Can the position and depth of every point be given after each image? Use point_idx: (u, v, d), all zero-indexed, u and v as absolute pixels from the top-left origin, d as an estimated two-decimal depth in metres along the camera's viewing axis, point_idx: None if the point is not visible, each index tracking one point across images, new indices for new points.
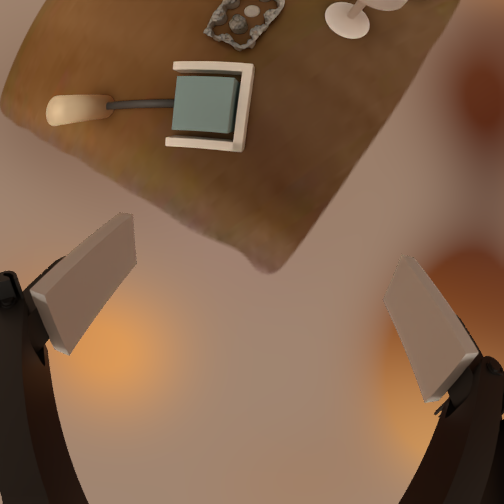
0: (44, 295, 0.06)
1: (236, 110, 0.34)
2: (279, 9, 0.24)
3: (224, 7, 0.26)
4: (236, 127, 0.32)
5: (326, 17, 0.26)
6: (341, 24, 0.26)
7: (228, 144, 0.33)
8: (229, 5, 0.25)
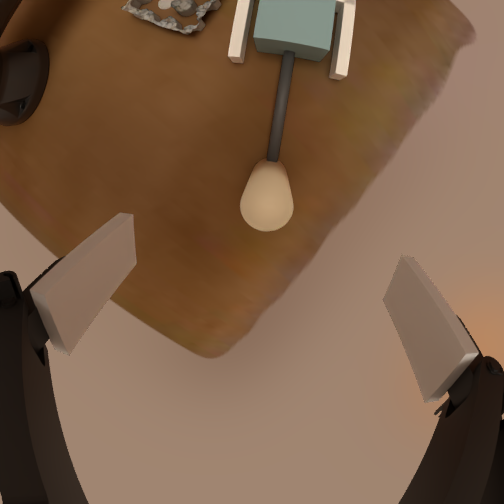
0: (44, 295, 0.06)
1: None
2: None
3: None
4: None
5: None
6: None
7: (347, 7, 0.18)
8: (156, 18, 0.21)
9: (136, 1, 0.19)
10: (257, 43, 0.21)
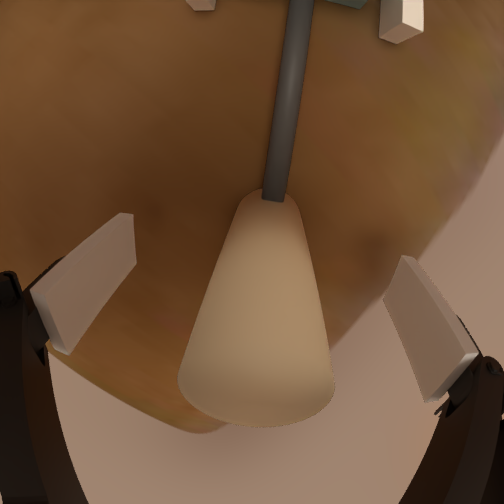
0: (44, 295, 0.06)
1: None
2: None
3: None
4: None
5: None
6: None
7: None
8: None
9: None
10: None
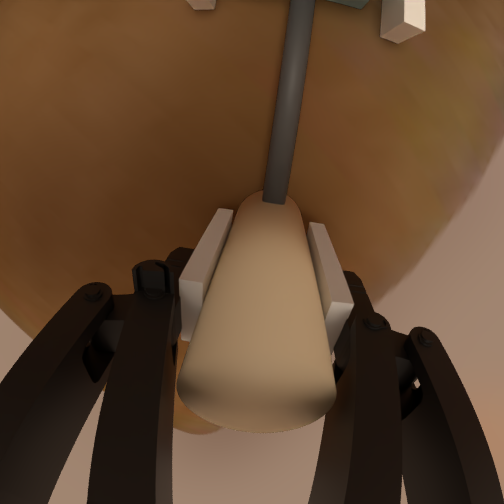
0: (201, 283, 0.08)
1: None
2: None
3: None
4: None
5: None
6: None
7: None
8: None
9: None
10: None
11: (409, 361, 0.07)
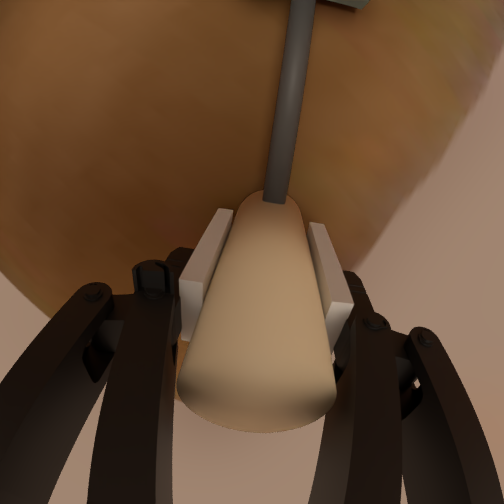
0: (201, 283, 0.08)
1: None
2: None
3: None
4: None
5: None
6: None
7: None
8: None
9: None
10: None
11: (409, 361, 0.07)
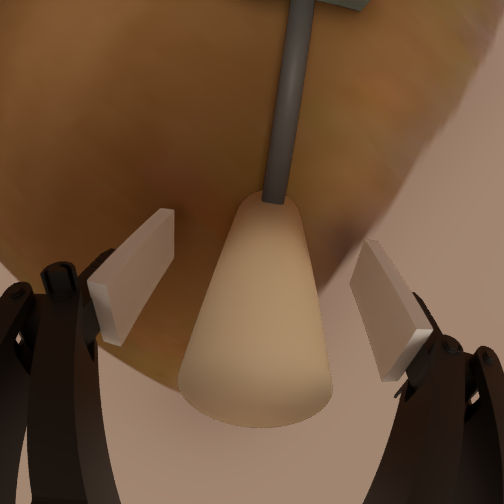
0: (105, 285, 0.07)
1: None
2: None
3: None
4: None
5: None
6: None
7: None
8: None
9: None
10: None
11: (476, 378, 0.06)
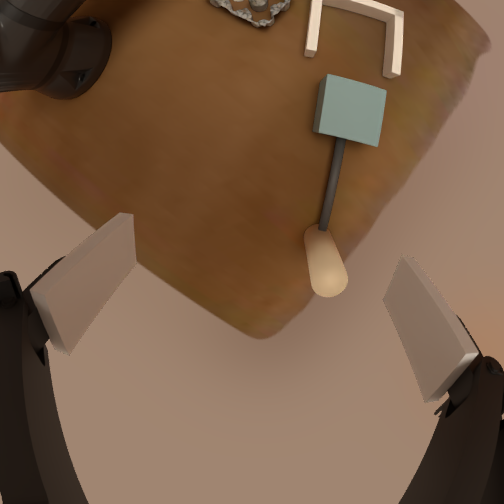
0: (44, 295, 0.06)
1: None
2: None
3: (232, 12, 0.25)
4: (381, 8, 0.20)
5: None
6: None
7: (397, 19, 0.21)
8: (231, 7, 0.24)
9: None
10: None
11: None
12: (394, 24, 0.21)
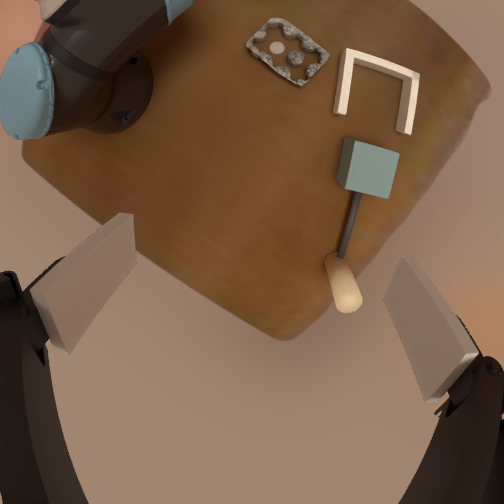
0: (44, 295, 0.06)
1: (368, 143, 0.37)
2: (286, 22, 0.28)
3: None
4: (401, 72, 0.29)
5: None
6: None
7: (413, 82, 0.29)
8: None
9: (253, 39, 0.30)
10: None
11: None
12: (410, 87, 0.30)
